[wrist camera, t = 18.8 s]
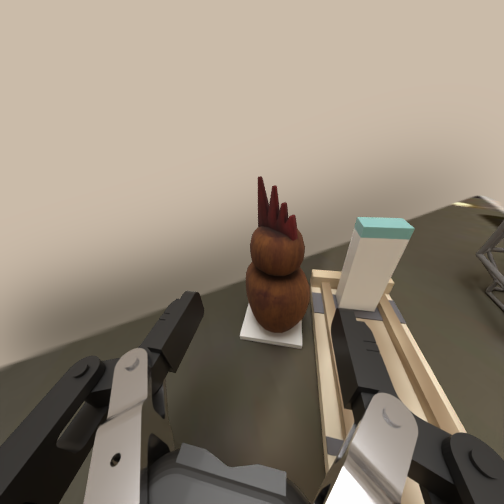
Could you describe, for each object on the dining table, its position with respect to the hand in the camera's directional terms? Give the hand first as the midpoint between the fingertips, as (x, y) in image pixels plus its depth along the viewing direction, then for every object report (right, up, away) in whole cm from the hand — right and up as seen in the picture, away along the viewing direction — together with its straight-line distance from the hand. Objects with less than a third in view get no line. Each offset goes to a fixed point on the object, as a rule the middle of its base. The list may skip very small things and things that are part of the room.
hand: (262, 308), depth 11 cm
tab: (+11, -2, +10) cm, 15 cm away
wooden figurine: (+2, -4, +10) cm, 11 cm away
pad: (+2, -4, +11) cm, 12 cm away
